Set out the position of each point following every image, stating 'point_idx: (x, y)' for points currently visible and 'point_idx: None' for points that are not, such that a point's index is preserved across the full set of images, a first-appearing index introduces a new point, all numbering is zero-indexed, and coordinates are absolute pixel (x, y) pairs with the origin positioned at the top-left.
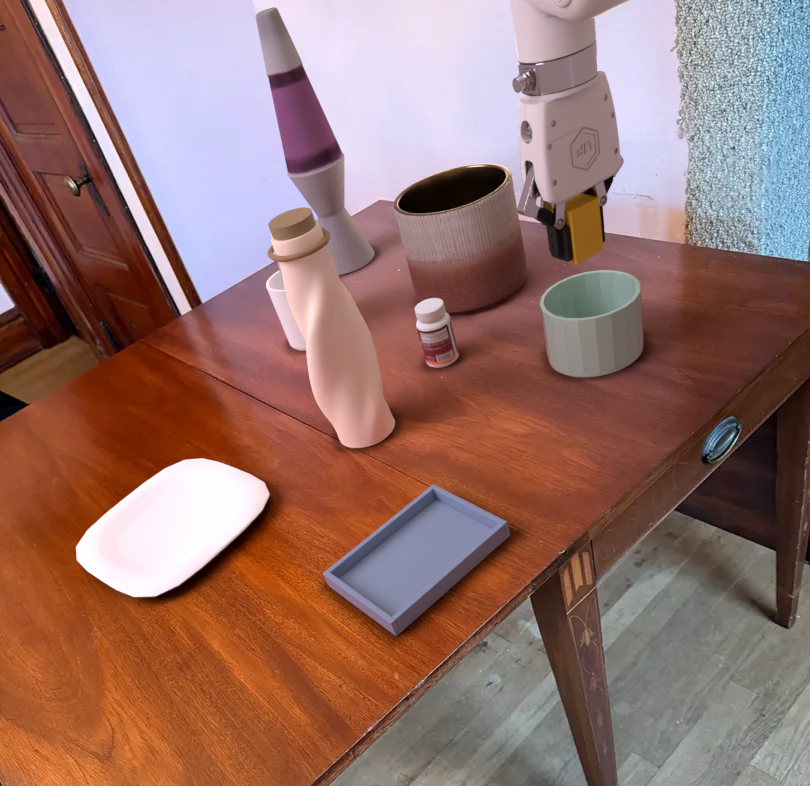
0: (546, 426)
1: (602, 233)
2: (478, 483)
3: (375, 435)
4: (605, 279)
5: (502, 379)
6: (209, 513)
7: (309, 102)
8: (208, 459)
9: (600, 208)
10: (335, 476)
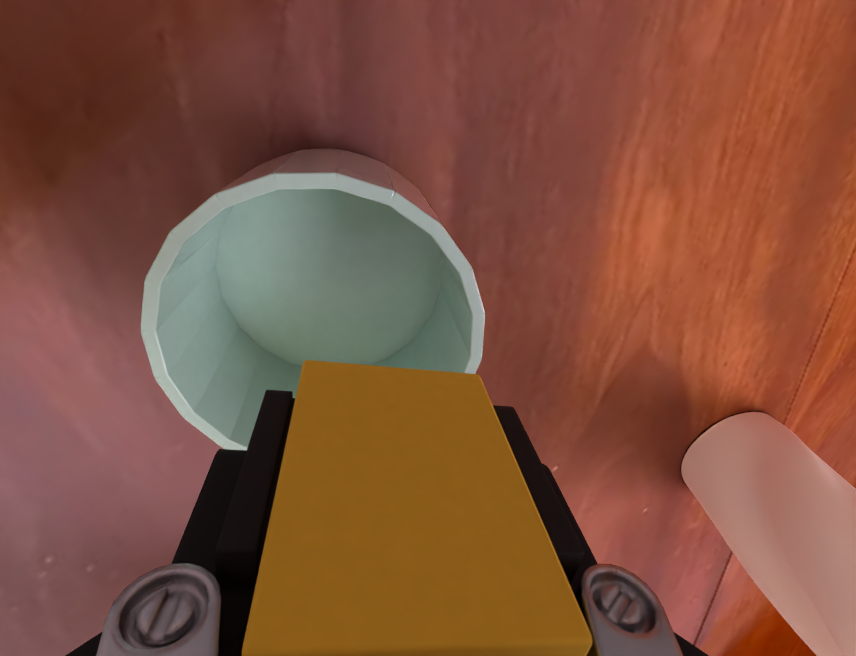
0: (630, 164)
1: (274, 419)
2: (837, 157)
3: (777, 422)
4: (191, 381)
5: (516, 370)
6: None
7: None
8: None
9: (234, 553)
10: (853, 401)
